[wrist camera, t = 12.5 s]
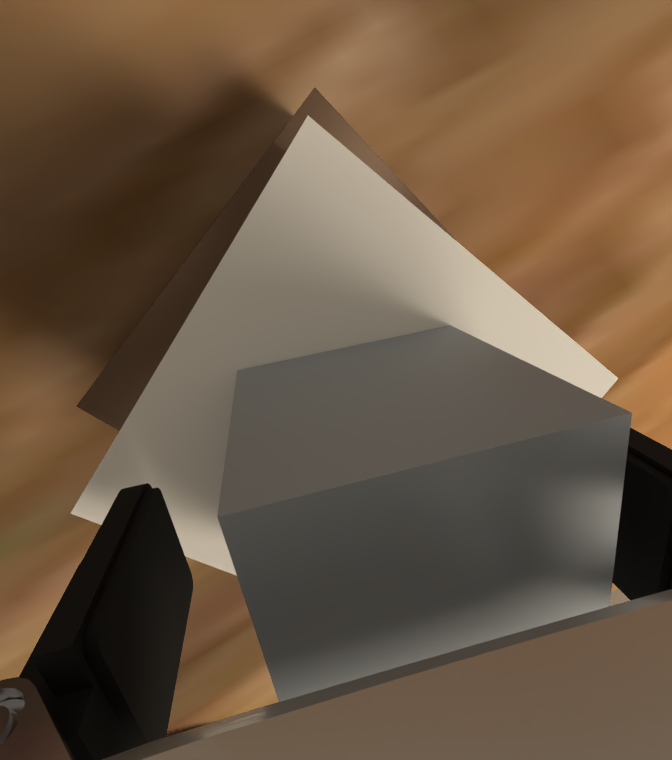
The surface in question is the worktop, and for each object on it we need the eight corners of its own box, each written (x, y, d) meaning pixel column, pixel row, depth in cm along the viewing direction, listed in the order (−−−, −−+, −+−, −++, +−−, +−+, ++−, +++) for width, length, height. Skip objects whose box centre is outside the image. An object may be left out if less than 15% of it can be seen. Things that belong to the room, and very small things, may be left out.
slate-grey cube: (450, 325, 11) (632, 413, 6) (460, 498, 14) (600, 680, 8) (237, 370, 11) (217, 517, 5) (284, 545, 13) (305, 778, 7)
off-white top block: (524, 339, 18) (618, 378, 13) (364, 541, 20) (396, 635, 15) (291, 153, 14) (307, 115, 9) (124, 431, 16) (70, 513, 11)
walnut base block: (494, 323, 23) (554, 346, 18) (332, 500, 25) (348, 561, 20) (300, 124, 18) (314, 87, 13) (118, 365, 20) (76, 406, 15)
